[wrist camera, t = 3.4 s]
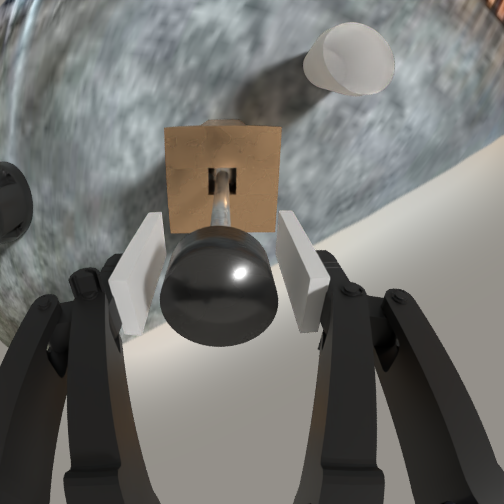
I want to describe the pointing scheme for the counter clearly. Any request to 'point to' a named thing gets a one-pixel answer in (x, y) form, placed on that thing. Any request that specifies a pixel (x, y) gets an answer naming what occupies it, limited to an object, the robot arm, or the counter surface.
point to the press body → (222, 156)
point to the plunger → (219, 278)
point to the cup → (350, 60)
